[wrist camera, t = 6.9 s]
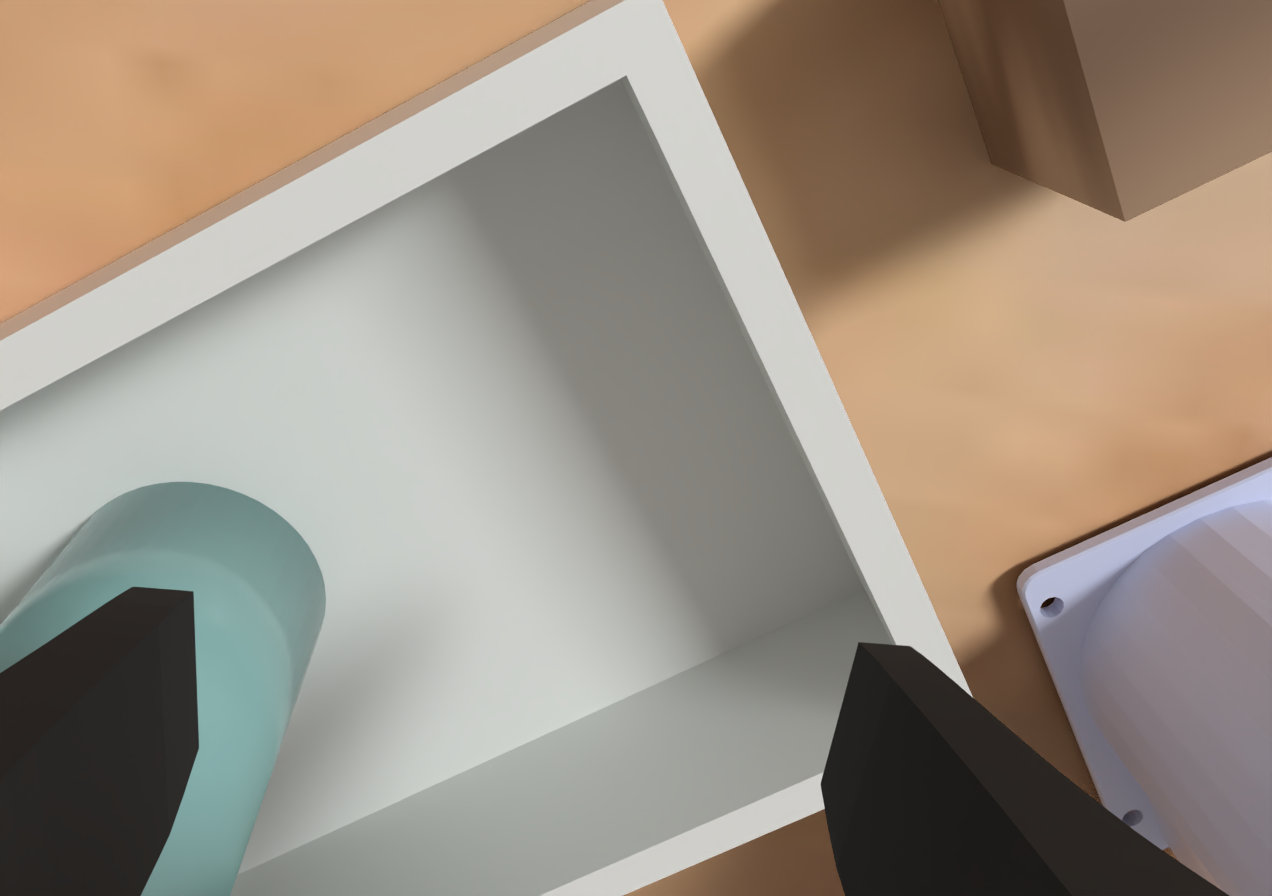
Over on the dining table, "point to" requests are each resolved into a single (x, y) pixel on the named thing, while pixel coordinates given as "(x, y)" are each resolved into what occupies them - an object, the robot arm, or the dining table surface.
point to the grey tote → (498, 475)
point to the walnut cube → (1118, 92)
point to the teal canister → (199, 646)
